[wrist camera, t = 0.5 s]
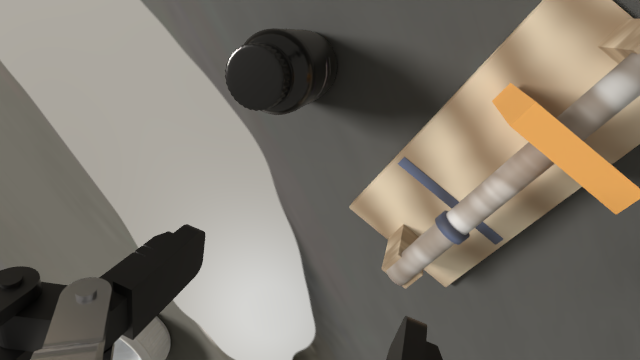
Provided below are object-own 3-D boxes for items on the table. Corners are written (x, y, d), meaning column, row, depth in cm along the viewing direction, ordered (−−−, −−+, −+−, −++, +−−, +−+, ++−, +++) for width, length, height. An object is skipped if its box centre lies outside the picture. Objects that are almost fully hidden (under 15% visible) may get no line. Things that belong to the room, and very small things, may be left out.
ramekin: (173, 370, 64) (145, 407, 58) (110, 337, 66) (77, 369, 60) (183, 320, 58) (152, 355, 52) (114, 285, 60) (76, 314, 54)
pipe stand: (570, -30, 28) (614, -49, 21) (707, 86, 28) (796, 105, 21) (351, 203, 41) (333, 240, 34) (445, 281, 41) (446, 333, 34)
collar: (510, 82, 30) (536, 101, 22) (592, 151, 31) (646, 194, 23) (491, 101, 31) (509, 125, 23) (571, 167, 31) (615, 214, 24)
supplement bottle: (347, 88, 37) (310, 113, 26) (288, 107, 39) (232, 136, 29) (326, 18, 35) (277, 13, 24) (266, 42, 37) (197, 48, 27)
